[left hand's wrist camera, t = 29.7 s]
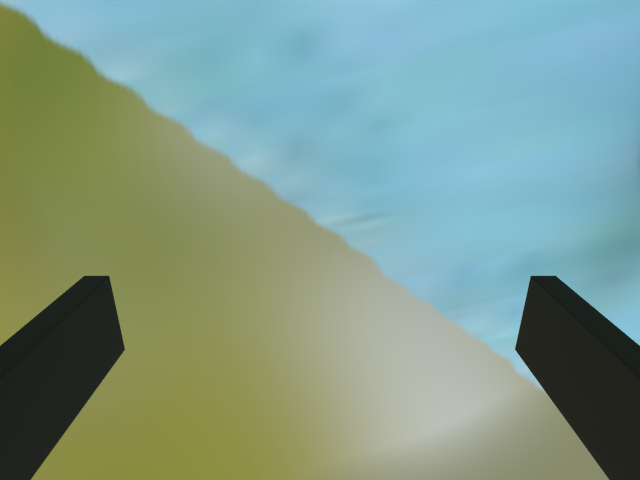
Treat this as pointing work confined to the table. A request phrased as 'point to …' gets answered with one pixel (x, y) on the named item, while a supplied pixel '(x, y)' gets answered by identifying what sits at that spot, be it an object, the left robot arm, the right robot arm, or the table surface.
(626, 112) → the table surface
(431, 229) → the table surface
